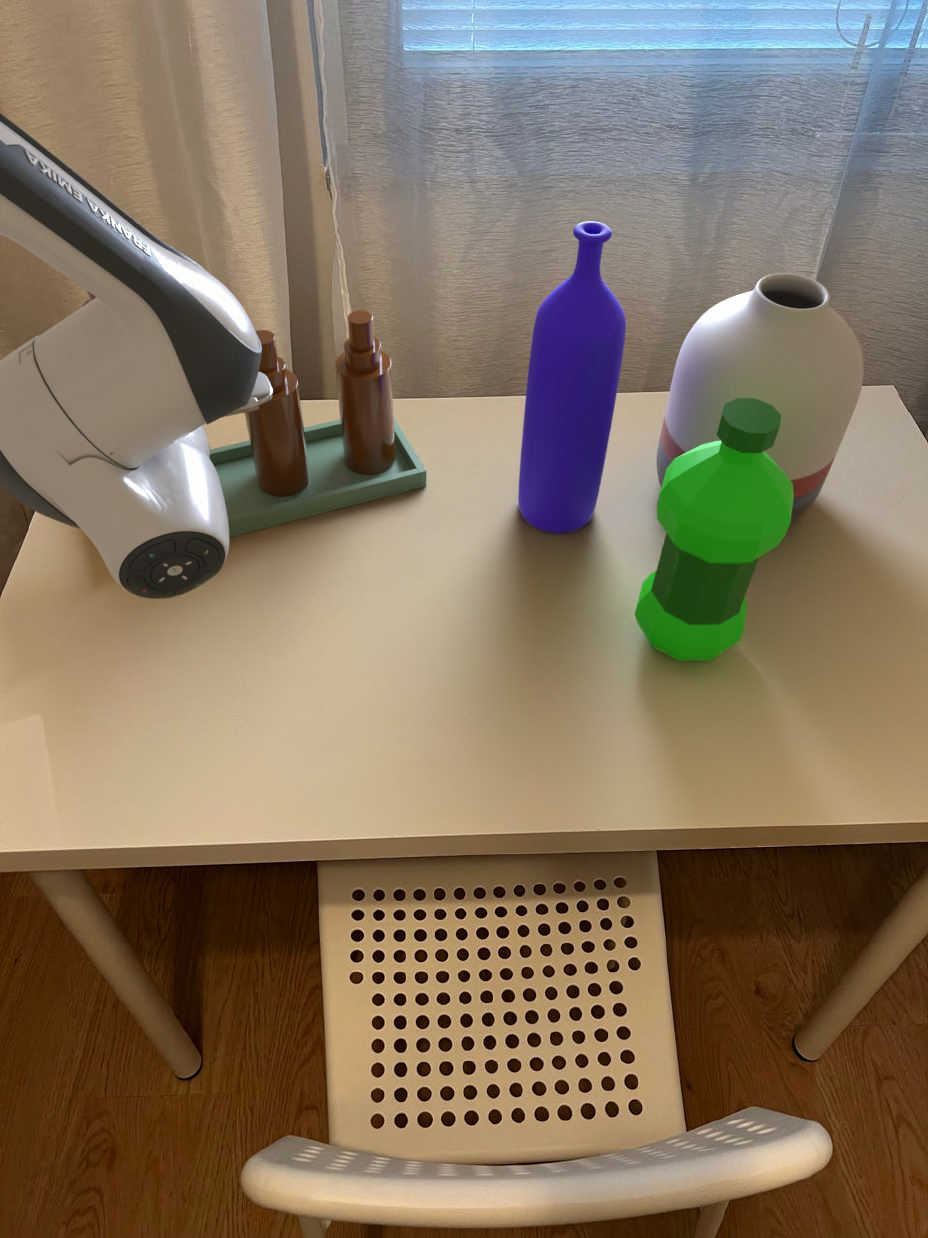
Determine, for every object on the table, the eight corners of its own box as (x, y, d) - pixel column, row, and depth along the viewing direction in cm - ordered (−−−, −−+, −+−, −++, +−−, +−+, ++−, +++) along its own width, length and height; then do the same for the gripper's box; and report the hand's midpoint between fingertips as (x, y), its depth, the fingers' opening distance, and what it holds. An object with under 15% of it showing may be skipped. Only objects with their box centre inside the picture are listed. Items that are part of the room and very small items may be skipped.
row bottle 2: (353, 480, 99) (341, 337, 86) (337, 449, 102) (323, 307, 89) (402, 467, 100) (397, 326, 87) (385, 437, 104) (378, 296, 91)
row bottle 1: (265, 502, 96) (239, 359, 83) (251, 469, 99) (224, 327, 87) (316, 489, 98) (299, 346, 85) (301, 457, 101) (282, 315, 88)
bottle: (598, 537, 95) (650, 256, 72) (516, 535, 95) (543, 253, 72) (592, 483, 100) (639, 206, 78) (515, 481, 100) (538, 202, 78)
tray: (122, 565, 91) (116, 549, 89) (103, 490, 98) (97, 475, 96) (426, 486, 99) (426, 470, 98) (389, 423, 106) (388, 407, 105)
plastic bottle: (703, 586, 91) (774, 363, 72) (759, 668, 84) (853, 446, 65) (608, 609, 88) (656, 385, 70) (658, 695, 82) (725, 474, 63)
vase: (763, 435, 106) (829, 234, 88) (841, 536, 96) (934, 330, 78) (624, 459, 103) (664, 254, 85) (689, 566, 92) (750, 358, 75)
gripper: (272, 369, 72) (237, 280, 80) (-12, 420, 67) (-17, 320, 75) (283, 435, 76) (249, 344, 85) (18, 488, 71) (10, 386, 80)
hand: (122, 333), depth 80 cm, fingers closed on amber bottle, 5 cm apart
